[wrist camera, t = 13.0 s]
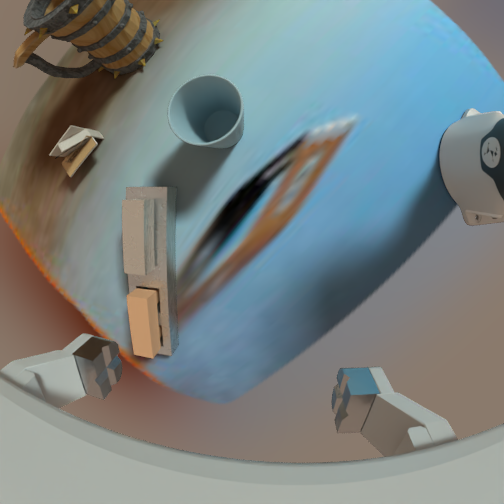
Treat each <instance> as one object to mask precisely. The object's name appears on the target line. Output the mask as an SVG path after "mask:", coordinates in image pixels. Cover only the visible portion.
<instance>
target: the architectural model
mask: <svg viewBox="0 0 504 504" xmlns="http://www.w3.org/2000/svg"><path fill="white" fill-rule="evenodd" d="M94 138H99V139H104V137H103V136H102V135H101V133H100V132H99V131H95V130H91V129H87V128H86V129H85V128H80V127H76V126H72V125H71V126H70V127H69V128H68V129H67V131H66V132H65V133H64V135H63V136H62V137H61V139H60V140H59V142H58V143H57V144H56V146H55V147H54V149H53V150H52V151H51V153H50V154H49V155H50V156H58V157H59V156H60V157H65V159H64V161H63V162H62V165H63V167H64V168H65V170H66V172H67V173H68V175H69V176H70V177H72V176H73V175H74V173H75V172H76V171H77V169H78V168H79V167H80V165H81V164H82V163H83V162H84V160H85V159H86V158H87V157H88V155H89V154H90V153H91V152H92V150H93V149H94V148H95V147H97V142H96V141H95V139H94ZM56 158H57V157H56ZM56 158H55V159H56Z"/></svg>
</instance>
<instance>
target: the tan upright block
mask: <svg viewBox="0 0 504 504" xmlns="http://www.w3.org/2000/svg"><path fill="white" fill-rule="evenodd" d="M159 302H160V294H159V289H157V288H148V289H140V288H136V289H135V290H133V291H132V292H131V293H129V294H128V295H127V305H128V314H129V322H130V330H131V337H132V344H133V350H134V355H138V356H143V357H148V358H154V357H155V355H156V354H157V353H158V351H159V350H160V348H161V345H160V337H161V336H162V326H161V325H159V324H158V311H157V304H158V303H159Z"/></svg>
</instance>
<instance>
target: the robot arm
mask: <svg viewBox="0 0 504 504" xmlns="http://www.w3.org/2000/svg"><path fill="white" fill-rule="evenodd" d="M440 168H441V173H442V177H443V180H444V183H445V185H446V188H447V190H448V192H449V193H450V195H451V197H452V198H453V199H454V200H455V202H456V203H457V204H458V206H459V207H460V209H461V212H462V215H463V218H464V221H465V222H466V224H467V225H481V224H491V223H499V222H504V115H503V114H502V113H501V112H499V111H494V112H487V113H479V112H478V111H477V110H475V109H473V108H471V109H467V110H466V111H465V113H464V115H463V117H462V118H461V119H460V120H459V121H457V122H455V123H453V124H452V125H450V126H449V127H448V129H447V130H446V131H445V133H444V135H443V138H442V141H441V145H440ZM475 217H476V218H475ZM118 353H119V348H118V344H117V343H116V342H115V341H111V340H107V339H104V338H100V337H96V336H93V335H89V334H82V335H80V336H79V337H78V338H77V339H75V340H74V341H73V342H72V343H70V344H69V345H68V346H67V347H66V348H64V349H63V350H62V351H60V350H57V351H53V352H49V353H45V354H41V355H36V356H32V357H28V358H24V359H20V360H15V361H12V362H11V363H9V364H8V365H7V366H6V367H4V368H3V369H1V370H0V504H504V423H503V424H501V425H499V426H496V427H494V428H491V429H488V430H486V431H483V432H480V433H478V434H475V435H472V436H469V437H466V438H463V439H460V440H458V439H457V437H456V435H455V434H454V432H453V430H452V428H451V427H450V425H449V423H448V422H447V420H446V419H444V418H442V417H440V416H438V415H437V414H435V413H433V412H431V411H430V410H428V409H426V408H424V407H422V406H421V405H419V404H417V403H415V402H414V401H412V400H410V399H409V398H407V397H405V396H403V395H402V394H400V393H394V391H393V389H392V387H391V385H390V383H389V381H388V379H387V377H386V375H385V374H384V372H383V370H382V368H381V367H367V368H340V370H339V372H338V375H337V380H338V384H337V385H336V386H335V387H334V390H333V394H332V409H333V412H334V413H335V414H336V418H335V424H336V429H337V433H356V432H361V434H362V435H363V436H364V437H365V438H366V439H367V440H368V441H369V442H370V443H371V444H372V445H373V446H374V447H375V448H376V449H377V450H378V451H379V452H380V453H381V454H382V455H384V456H385V457H380V458H372V459H363V460H354V461H342V462H323V463H283V462H281V463H280V462H263V461H251V460H240V459H232V458H225V457H218V456H211V455H205V454H200V453H194V452H189V451H184V450H179V449H174V448H170V447H166V446H162V445H158V444H154V443H151V442H147V441H144V440H140V439H137V438H133V437H130V436H127V435H124V434H121V433H118V432H115V431H112V430H109V429H106V428H104V427H101V426H98V425H96V424H93V423H91V422H88V421H86V420H83V419H81V418H79V417H76V416H74V415H72V414H69V413H67V412H65V411H63V410H61V409H59V408H61V407H63V406H65V405H67V404H69V403H71V402H73V401H75V400H77V399H79V398H81V397H83V396H85V395H86V394H87V395H90V396H93V397H96V398H99V399H103V400H104V399H105V397H107V395H108V394H109V392H110V391H111V385H114V384H116V383H117V382H118V381H119V380H120V377H121V374H122V363H121V361H120V359H119V358H118V356H117V355H118Z"/></svg>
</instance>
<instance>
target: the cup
mask: <svg viewBox="0 0 504 504" xmlns="http://www.w3.org/2000/svg"><path fill="white" fill-rule="evenodd" d="M167 115H168V122H169V125H170V127H171V129H172V131H173V132H174V134H175V135H176V136H177V137H178V138H179V139H181V140H182V141H184V142H186V143H188V144H191V145H197V146H205V147H212V148H220V149H222V148H229V147H231V146H233V145H234V144H236V143H237V142H238V141H239V140H240V138H241V137H242V135H243V130H244V104H243V98H242V95H241V93H240V91H239V89H238V88H237V86H236V85H235V84H234V83H233V82H231V81H230V80H229V79H227V78H225V77H222V76H219V75H213V74H206V75H200V76H196V77H194V78H191V79H189V80H188V81H186V82H184V83H183V84H182V85H181V86H180V87H179V88H178V89H177V90H176V91H175V93H174V94H173V96H172V98H171V100H170V102H169V105H168V112H167Z"/></svg>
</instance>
